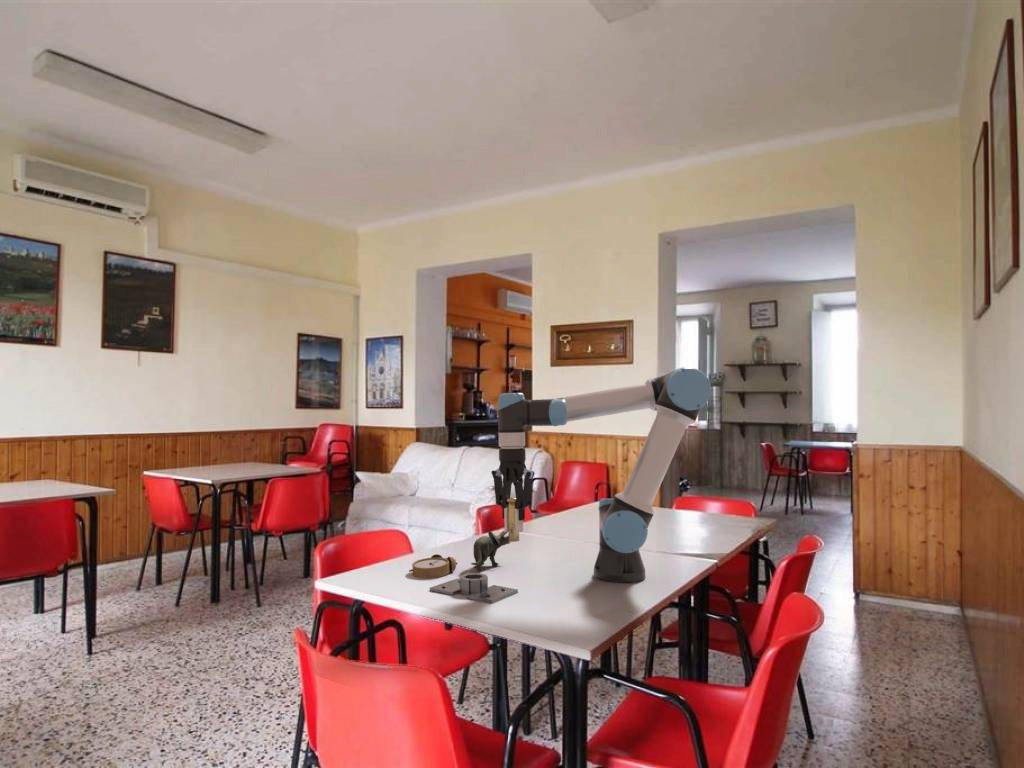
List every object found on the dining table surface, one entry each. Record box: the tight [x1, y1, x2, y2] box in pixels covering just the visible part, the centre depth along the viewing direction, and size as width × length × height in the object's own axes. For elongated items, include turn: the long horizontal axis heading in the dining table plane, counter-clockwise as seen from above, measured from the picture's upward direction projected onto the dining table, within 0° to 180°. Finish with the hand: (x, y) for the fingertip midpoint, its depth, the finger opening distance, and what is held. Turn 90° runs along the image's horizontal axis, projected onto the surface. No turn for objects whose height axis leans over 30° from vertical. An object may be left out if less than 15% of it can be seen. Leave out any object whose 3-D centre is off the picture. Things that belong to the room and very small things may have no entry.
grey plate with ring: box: [429, 572, 519, 604], centre depth 172 cm, size 12×21×4 cm, turn 55°
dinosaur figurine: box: [470, 529, 512, 573], centre depth 199 cm, size 22×8×11 cm, turn 148°
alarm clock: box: [408, 553, 458, 579], centre depth 194 cm, size 11×5×15 cm
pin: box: [506, 496, 520, 543], centre depth 178 cm, size 4×4×12 cm
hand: (513, 531), depth 178 cm, fingers closed on pin, 3 cm apart
